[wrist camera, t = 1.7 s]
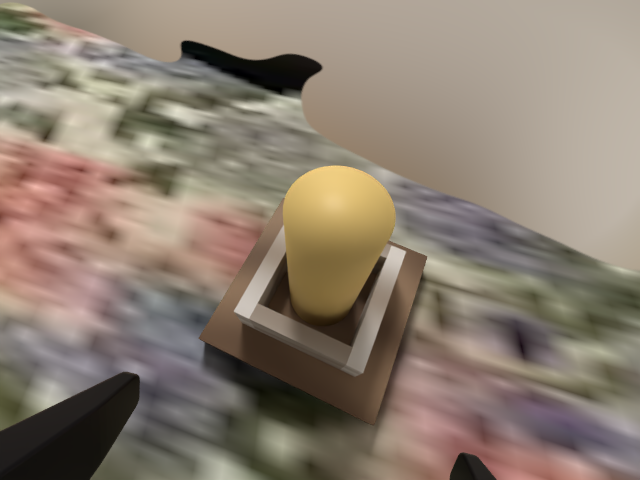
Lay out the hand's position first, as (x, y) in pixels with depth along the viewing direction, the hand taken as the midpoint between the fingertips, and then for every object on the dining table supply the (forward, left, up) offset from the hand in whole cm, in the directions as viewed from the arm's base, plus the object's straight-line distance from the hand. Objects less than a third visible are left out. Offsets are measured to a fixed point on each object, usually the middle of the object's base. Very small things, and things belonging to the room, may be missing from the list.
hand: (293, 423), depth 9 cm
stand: (+7, +2, -13) cm, 15 cm away
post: (+7, +2, -11) cm, 14 cm away
